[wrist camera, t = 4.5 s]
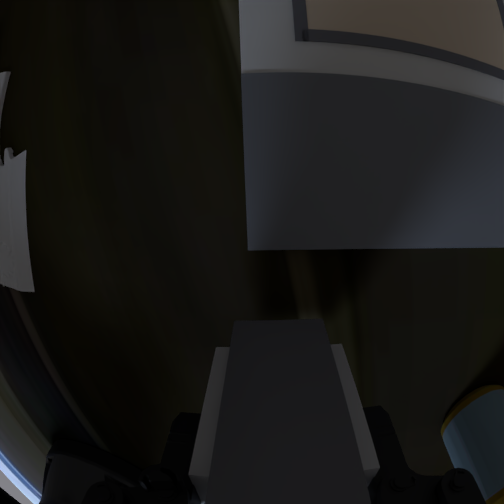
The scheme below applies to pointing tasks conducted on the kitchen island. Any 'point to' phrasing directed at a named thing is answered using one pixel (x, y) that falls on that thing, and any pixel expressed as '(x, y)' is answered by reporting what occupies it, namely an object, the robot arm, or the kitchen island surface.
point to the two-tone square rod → (284, 421)
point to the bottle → (479, 439)
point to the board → (373, 123)
